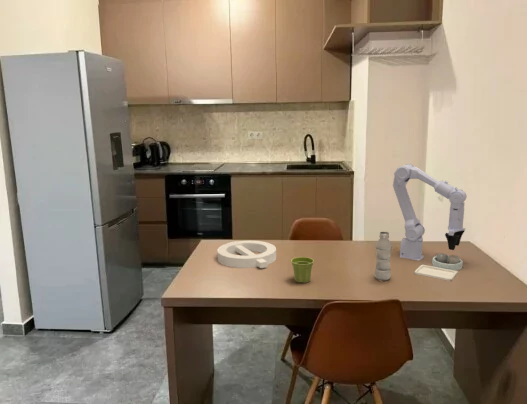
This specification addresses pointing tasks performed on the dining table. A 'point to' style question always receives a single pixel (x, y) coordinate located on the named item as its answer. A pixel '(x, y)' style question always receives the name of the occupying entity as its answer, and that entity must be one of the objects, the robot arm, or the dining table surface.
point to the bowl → (447, 266)
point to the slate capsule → (441, 258)
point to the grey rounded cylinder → (453, 259)
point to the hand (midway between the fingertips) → (453, 247)
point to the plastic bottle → (383, 257)
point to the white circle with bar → (246, 254)
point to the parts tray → (436, 272)
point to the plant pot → (302, 268)
